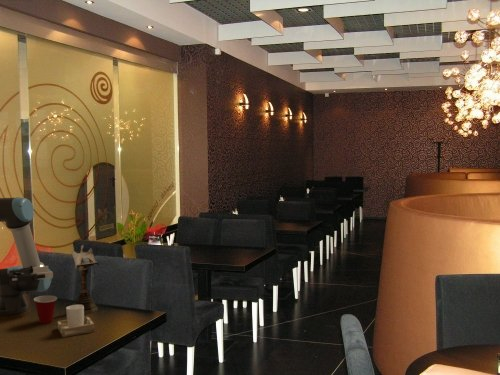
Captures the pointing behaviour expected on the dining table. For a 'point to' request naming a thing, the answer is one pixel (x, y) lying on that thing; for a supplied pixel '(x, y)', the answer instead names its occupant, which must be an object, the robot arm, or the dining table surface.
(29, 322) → the dining table surface
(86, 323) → the birch crate
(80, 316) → the white cup
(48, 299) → the plastic cup
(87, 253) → the bird statue
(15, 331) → the dining table surface
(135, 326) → the dining table surface
